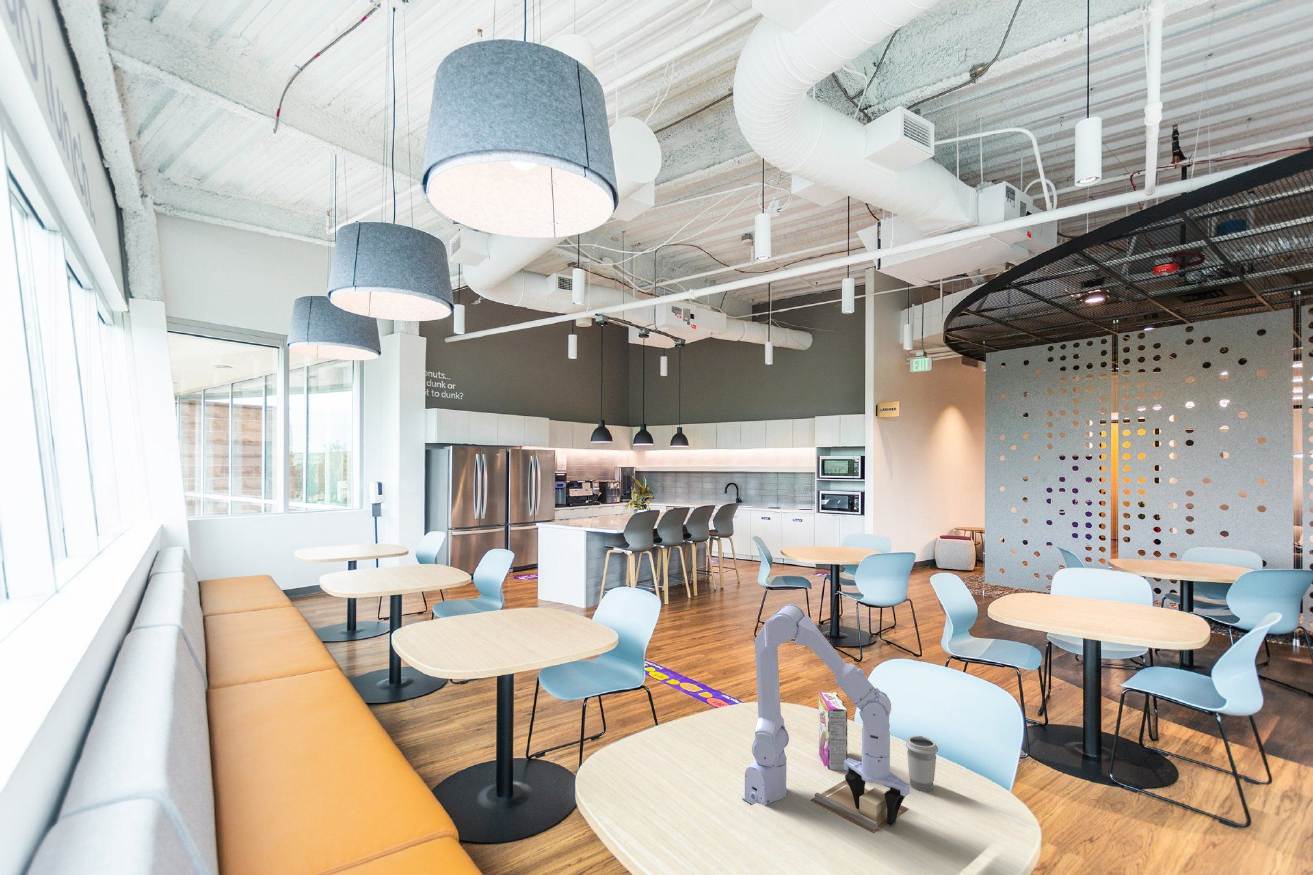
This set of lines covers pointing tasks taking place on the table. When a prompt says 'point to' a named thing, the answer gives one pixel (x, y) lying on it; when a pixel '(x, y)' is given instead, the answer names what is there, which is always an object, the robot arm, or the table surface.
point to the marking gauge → (873, 805)
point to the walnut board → (848, 806)
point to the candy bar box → (832, 730)
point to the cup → (921, 762)
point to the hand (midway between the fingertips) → (875, 814)
